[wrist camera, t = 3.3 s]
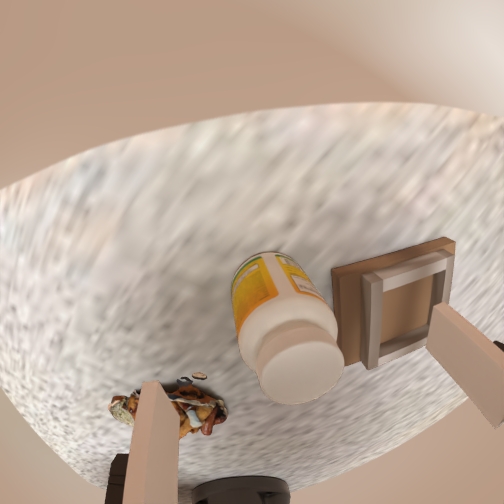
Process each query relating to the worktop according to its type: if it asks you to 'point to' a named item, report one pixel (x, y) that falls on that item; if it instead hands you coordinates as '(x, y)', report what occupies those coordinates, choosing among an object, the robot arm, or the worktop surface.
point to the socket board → (390, 301)
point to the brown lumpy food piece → (178, 408)
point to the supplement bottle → (285, 330)
